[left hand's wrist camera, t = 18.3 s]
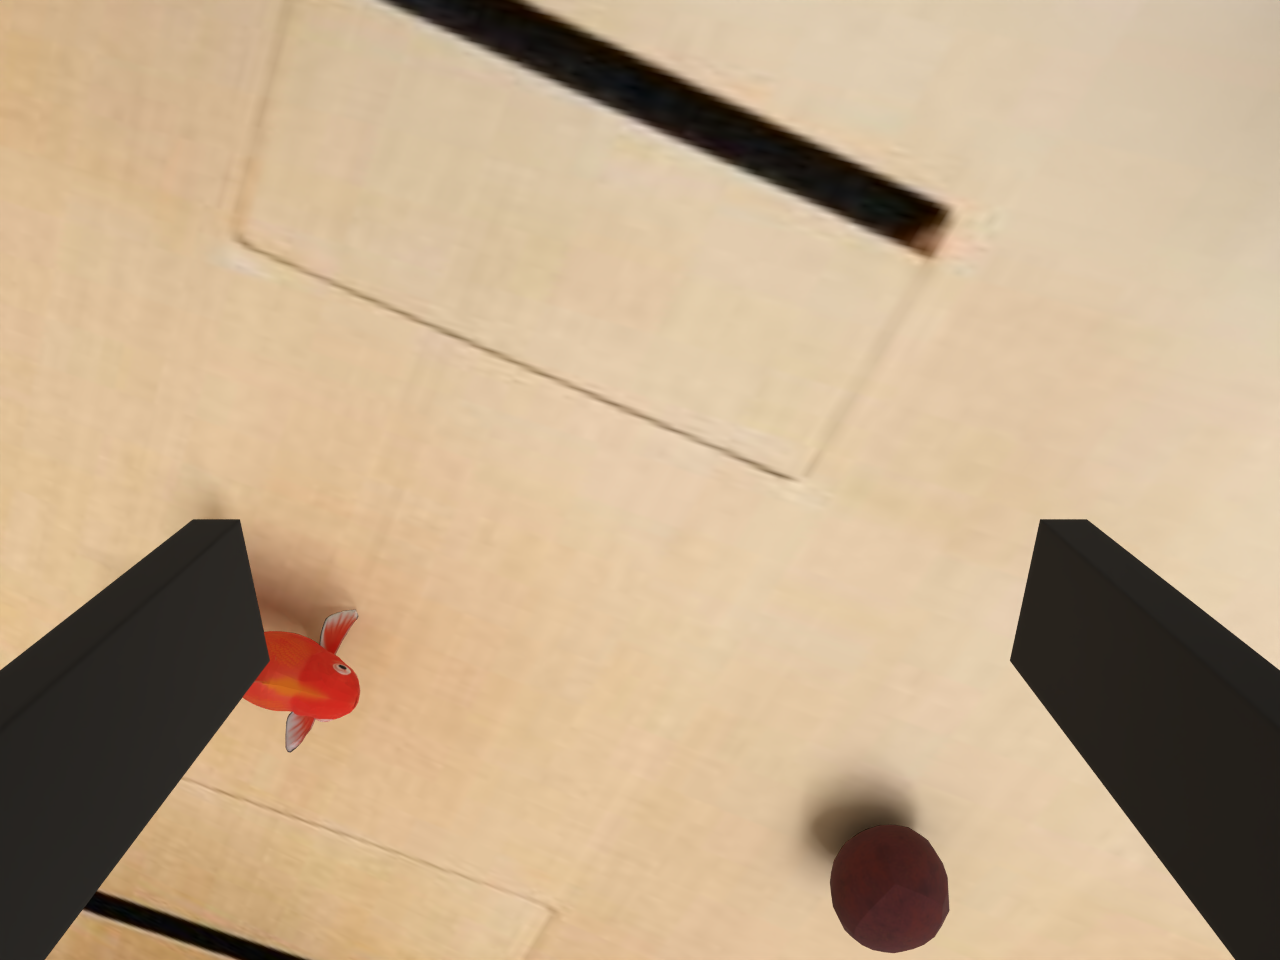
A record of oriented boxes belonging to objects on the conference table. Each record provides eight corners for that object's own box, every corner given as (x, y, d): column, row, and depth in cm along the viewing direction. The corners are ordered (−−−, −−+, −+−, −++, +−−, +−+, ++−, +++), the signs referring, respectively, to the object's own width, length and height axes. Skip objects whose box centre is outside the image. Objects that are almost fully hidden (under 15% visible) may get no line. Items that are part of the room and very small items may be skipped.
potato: (799, 862, 54) (821, 958, 47) (859, 784, 51) (892, 875, 45) (888, 896, 55) (922, 995, 48) (951, 822, 52) (996, 915, 46)
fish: (322, 807, 46) (196, 864, 36) (151, 649, 50) (-5, 663, 40) (425, 658, 46) (327, 675, 36) (247, 511, 50) (114, 491, 40)
